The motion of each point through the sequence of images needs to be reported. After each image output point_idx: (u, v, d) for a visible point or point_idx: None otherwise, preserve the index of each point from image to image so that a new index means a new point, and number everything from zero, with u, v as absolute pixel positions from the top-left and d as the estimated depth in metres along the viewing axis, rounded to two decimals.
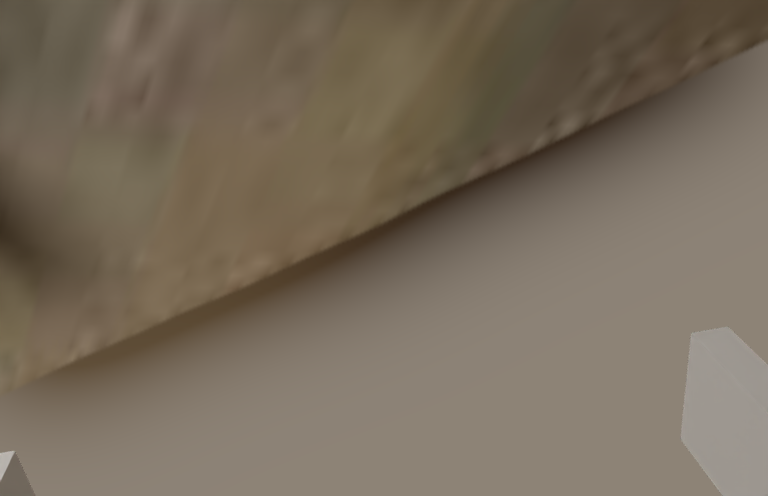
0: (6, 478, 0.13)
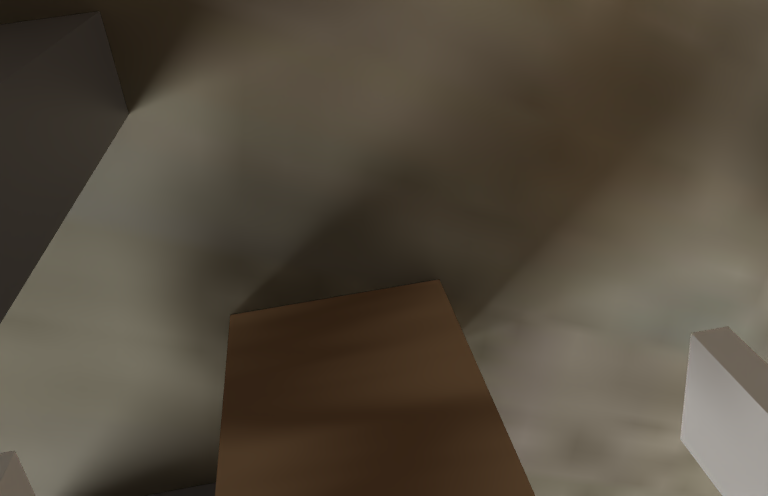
0: (6, 477, 0.13)
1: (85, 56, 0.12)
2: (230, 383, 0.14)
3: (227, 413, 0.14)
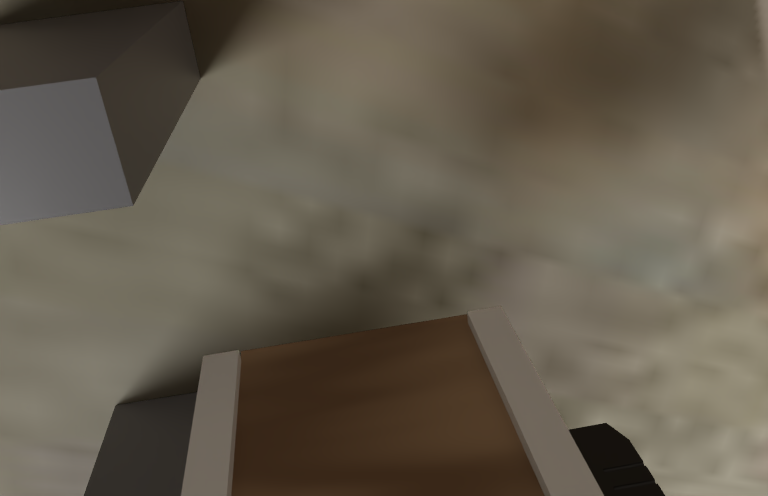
0: (238, 369, 0.15)
1: (176, 30, 0.17)
2: (240, 432, 0.13)
3: (237, 468, 0.12)
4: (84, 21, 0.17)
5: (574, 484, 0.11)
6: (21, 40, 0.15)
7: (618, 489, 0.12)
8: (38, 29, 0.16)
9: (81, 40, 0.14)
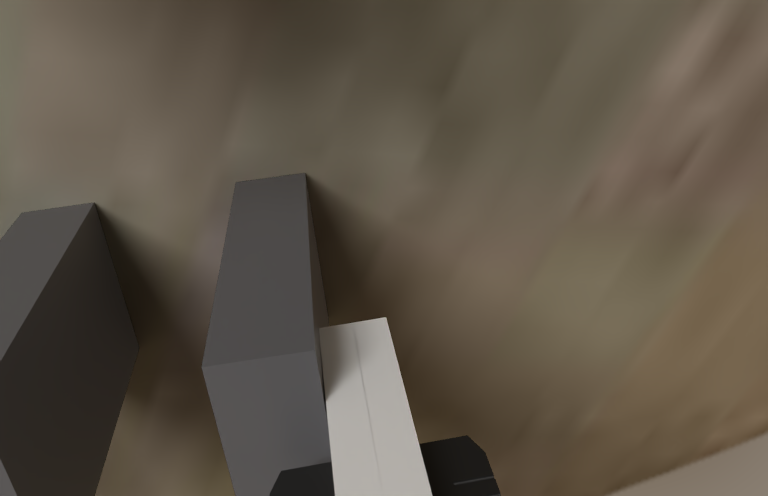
0: (356, 341, 0.15)
1: None
2: None
3: None
4: (110, 323, 0.20)
5: None
6: (85, 338, 0.18)
7: None
8: (97, 302, 0.19)
9: (91, 418, 0.18)
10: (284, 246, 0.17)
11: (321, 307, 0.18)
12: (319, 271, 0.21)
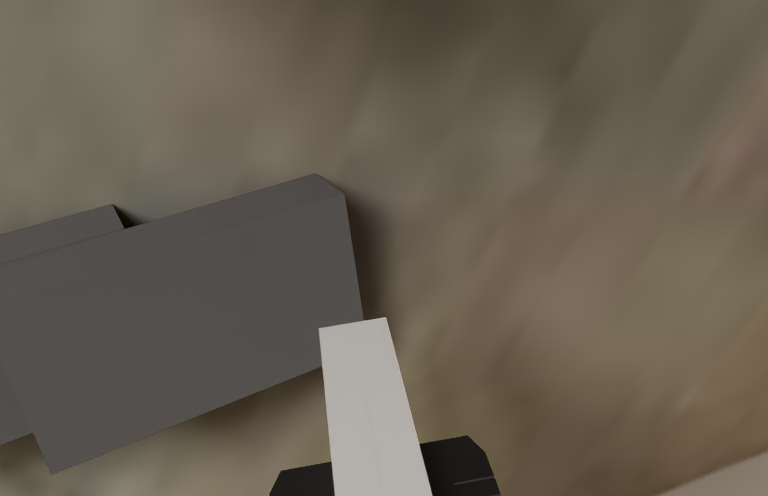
0: (356, 340, 0.15)
1: None
2: None
3: None
4: None
5: None
6: None
7: None
8: None
9: None
10: (167, 238, 0.18)
11: (232, 314, 0.19)
12: (319, 292, 0.20)
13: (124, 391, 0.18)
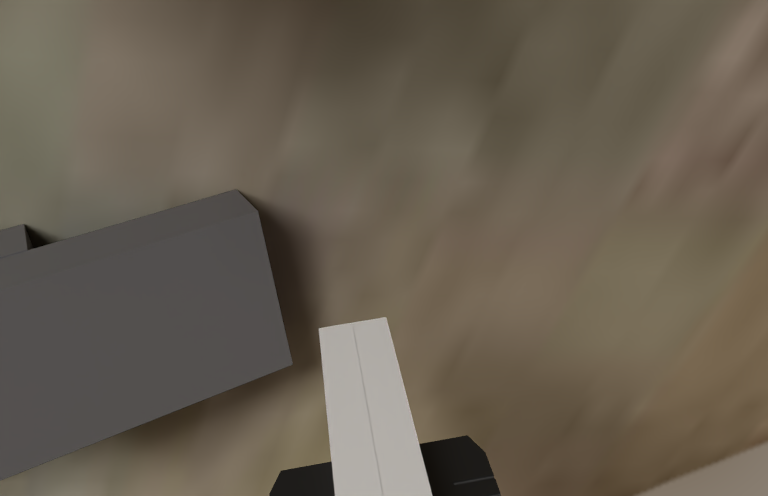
0: (356, 341, 0.15)
1: None
2: None
3: None
4: None
5: None
6: None
7: None
8: None
9: None
10: (73, 258, 0.18)
11: (144, 333, 0.19)
12: (236, 310, 0.20)
13: (33, 412, 0.18)
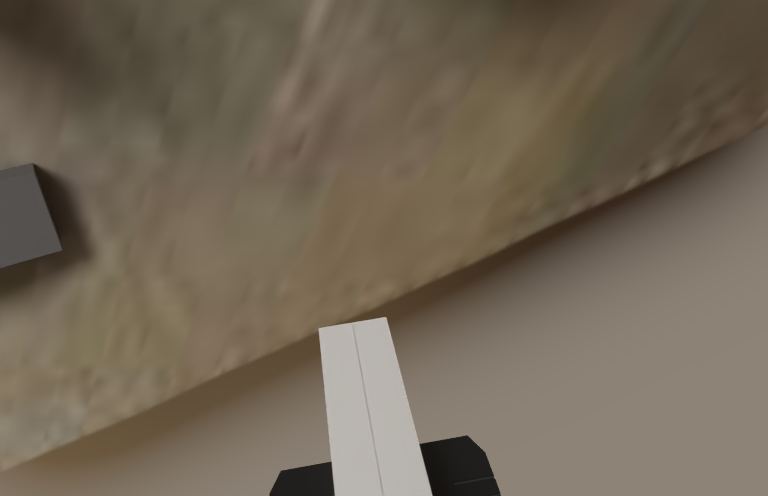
0: (356, 341, 0.15)
1: None
2: None
3: None
4: None
5: None
6: None
7: None
8: None
9: None
10: None
11: None
12: (27, 220, 0.41)
13: None
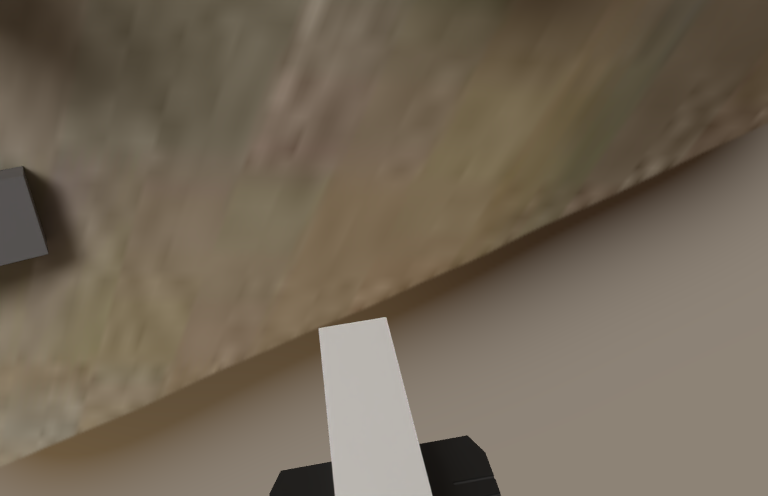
0: (356, 340, 0.15)
1: None
2: None
3: None
4: None
5: None
6: None
7: None
8: None
9: None
10: None
11: None
12: (14, 222, 0.41)
13: None
